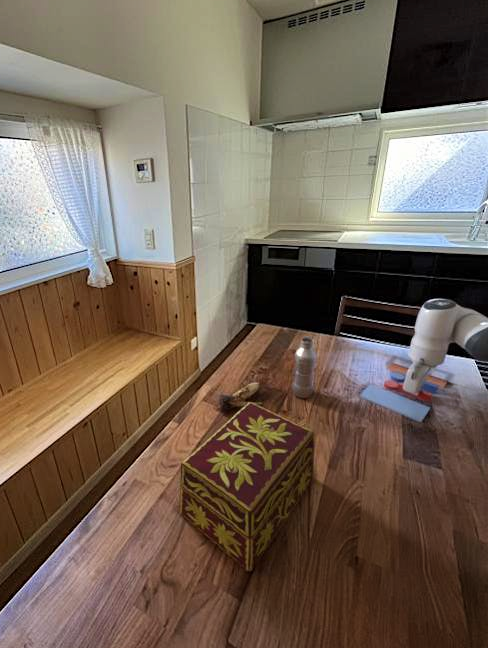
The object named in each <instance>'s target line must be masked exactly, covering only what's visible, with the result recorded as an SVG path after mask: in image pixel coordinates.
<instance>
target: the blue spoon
mask: <svg viewBox="0 0 488 648" xmlns="http://www.w3.org/2000/svg"><path fill="white" fill-rule="evenodd" d="M405 378H406V375H403V374H401V373H398V372H392V373H391V375H390V380H391V381H395V382H397V383H400V382H401V383H404V381H405ZM438 386H439V385H436V384H433V383H430V382H427V381H426V382H425V383H424V385H423V389H422V390H423V391H426V392H429V393H431V394H433V395H436V394H437V392H438V389H439V387H438Z"/></svg>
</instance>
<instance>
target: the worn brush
mask: <svg viewBox="0 0 488 648" xmlns="http://www.w3.org/2000/svg"><path fill="white" fill-rule="evenodd" d="M260 389H261V383H259V382H258V381H256V382H255V381H254V382H251V383H249V384H246V385H245V386H243V387H242V388H240V389H239V390H238V391H236V392H234V393H233V394H231V395H230V396H229V395H227V394H222V393H221V394H219V395H218V398H219V399H218V402H219V405H218V406H217V411H218V412H220V413H225V412H226V413H228V412H230V411H231V410H232V409H233V408H236V407H237V408H241V409H242V408H243V407H244V406H245V405H246V404H247V403H249V402H250V401H249V402H248V401H247V400H248V399H249V398H250V397H252V396H253V395H254V394H255V393H256V392H258V390H260ZM251 402H252V401H251ZM252 403H254V404H256V405H258V406H260V407H261V406H262V405H263V404H262V403H263V401H261V402H258V401H257V402H254V401H253V402H252ZM227 411H228V412H227Z"/></svg>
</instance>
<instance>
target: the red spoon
mask: <svg viewBox="0 0 488 648" xmlns="http://www.w3.org/2000/svg"><path fill="white" fill-rule="evenodd" d="M403 384H404V382H396V381H394V380H392V379H387V380H385V381H384V383H383V386H384V388H385V389H387V390H390V391H397V392H399V393H403V394H406V395H409V396H410V397H414V398H416V399H419V400H421V401H423V402H426V403H430V402H431V401H432V398H433V395H434V393H432V392H429V391H426V390H423V389H422V390H420V392H419V394H418V395H414V394H412V393H409V392H406V391H404V390H403Z"/></svg>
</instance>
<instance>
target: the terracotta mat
mask: <svg viewBox="0 0 488 648" xmlns="http://www.w3.org/2000/svg"><path fill="white" fill-rule="evenodd" d="M409 368H410V367H407V366H403V365H400V364H398V363H395V362H390V363H389V364H388V366H387V367H386V370H389V371H393V372H394V373H400V374H403V375H404V376H406V374H407V372H408V369H409ZM427 382H430V383H433V384H436V385H439V386H438V388H441V389H445V388H446V386H447V385H448V383H449V380H446V379H443V378H440V377H437V376H434V375H431V376H430V377H429V378H428V379H427Z"/></svg>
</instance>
